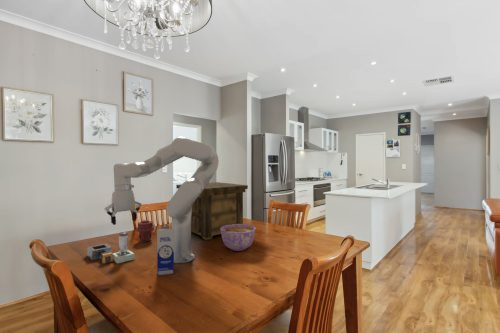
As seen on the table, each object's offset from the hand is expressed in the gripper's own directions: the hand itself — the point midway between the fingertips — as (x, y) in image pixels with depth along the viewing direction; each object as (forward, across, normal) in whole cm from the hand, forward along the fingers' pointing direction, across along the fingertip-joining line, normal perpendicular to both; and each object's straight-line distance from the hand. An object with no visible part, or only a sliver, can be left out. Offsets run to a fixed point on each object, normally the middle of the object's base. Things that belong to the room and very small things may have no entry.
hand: (124, 222), depth 133 cm
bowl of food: (+21, -51, +27) cm, 61 cm away
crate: (+20, -61, -11) cm, 65 cm away
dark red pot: (+19, -20, -24) cm, 36 cm away
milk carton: (+20, -7, +28) cm, 35 cm away
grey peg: (+17, +1, -1) cm, 17 cm away
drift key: (+18, +8, -6) cm, 21 cm away
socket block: (+18, +8, -14) cm, 24 cm away
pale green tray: (+18, +1, -1) cm, 18 cm away
